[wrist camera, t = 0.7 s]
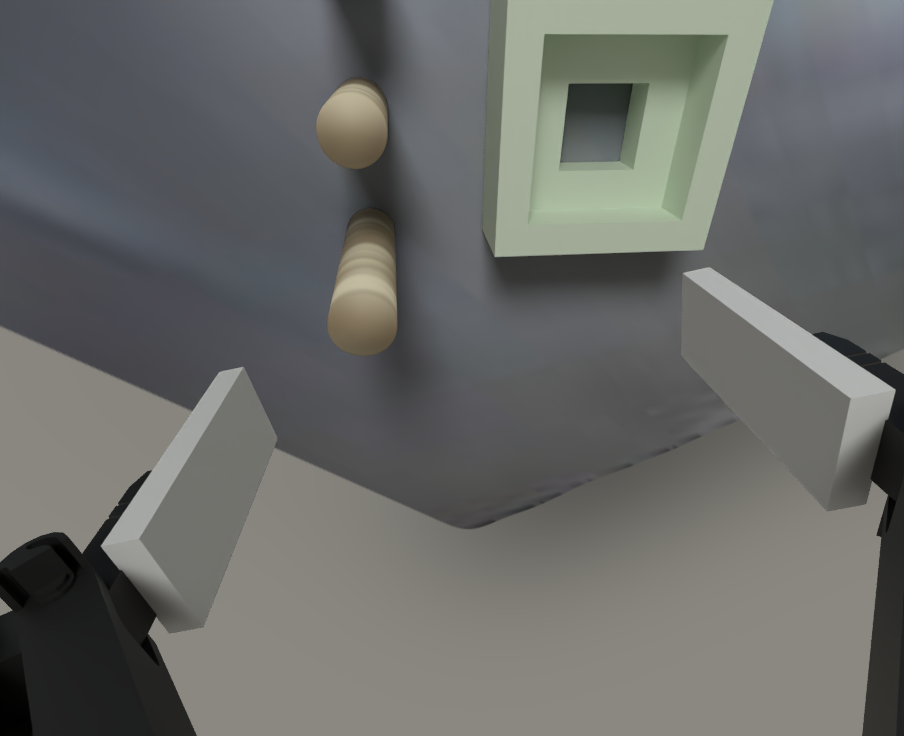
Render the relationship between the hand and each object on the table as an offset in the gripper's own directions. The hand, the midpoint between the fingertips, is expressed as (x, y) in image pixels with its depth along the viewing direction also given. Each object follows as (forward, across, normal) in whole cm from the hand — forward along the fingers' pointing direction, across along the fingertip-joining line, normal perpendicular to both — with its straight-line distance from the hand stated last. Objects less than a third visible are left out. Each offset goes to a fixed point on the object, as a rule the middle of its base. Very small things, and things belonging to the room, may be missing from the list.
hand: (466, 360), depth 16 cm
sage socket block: (+24, +11, +3) cm, 26 cm away
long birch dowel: (+24, -5, -1) cm, 24 cm away
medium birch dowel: (+23, -4, +7) cm, 24 cm away
